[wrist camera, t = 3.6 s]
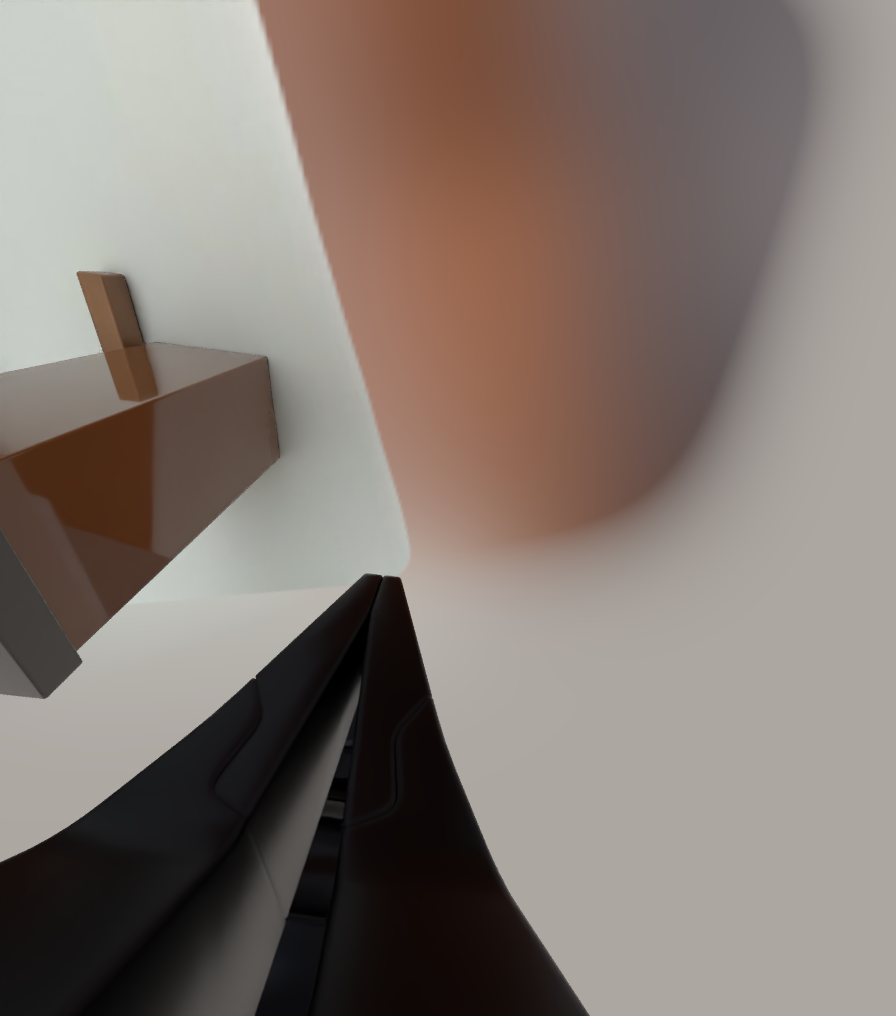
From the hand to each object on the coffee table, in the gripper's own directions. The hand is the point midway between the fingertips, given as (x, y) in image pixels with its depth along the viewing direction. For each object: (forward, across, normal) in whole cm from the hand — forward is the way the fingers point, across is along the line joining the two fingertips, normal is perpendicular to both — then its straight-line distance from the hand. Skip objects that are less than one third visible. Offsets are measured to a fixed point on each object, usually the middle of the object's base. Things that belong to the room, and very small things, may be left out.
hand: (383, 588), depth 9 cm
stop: (+11, +13, 0) cm, 17 cm away
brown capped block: (+11, +10, 0) cm, 15 cm away
